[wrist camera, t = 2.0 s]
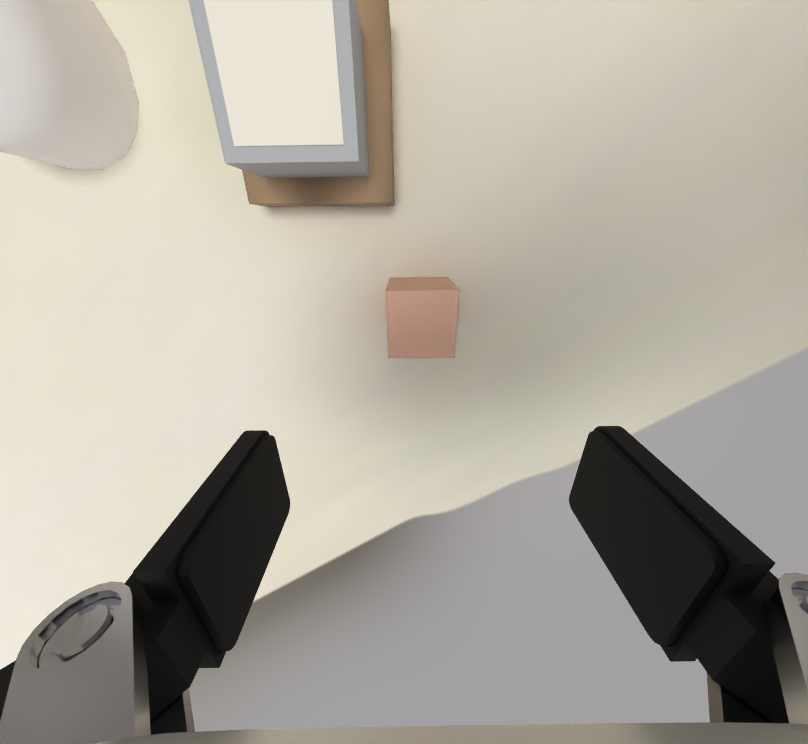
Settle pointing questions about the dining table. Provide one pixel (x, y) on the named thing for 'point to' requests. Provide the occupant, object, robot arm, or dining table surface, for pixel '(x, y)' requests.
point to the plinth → (379, 133)
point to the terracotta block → (421, 317)
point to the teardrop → (64, 85)
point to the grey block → (286, 85)
